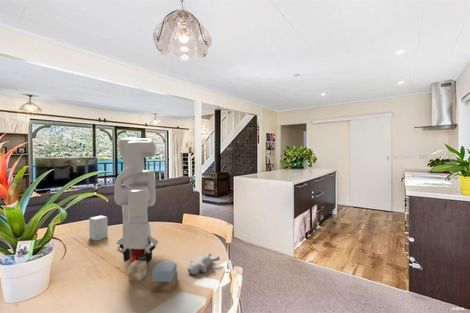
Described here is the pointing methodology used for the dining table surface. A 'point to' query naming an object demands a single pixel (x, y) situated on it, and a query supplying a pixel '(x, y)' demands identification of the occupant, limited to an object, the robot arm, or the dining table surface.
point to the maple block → (137, 270)
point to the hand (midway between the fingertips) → (137, 260)
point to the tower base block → (164, 285)
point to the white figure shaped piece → (201, 264)
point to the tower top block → (164, 272)
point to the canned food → (138, 255)
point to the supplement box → (98, 227)
